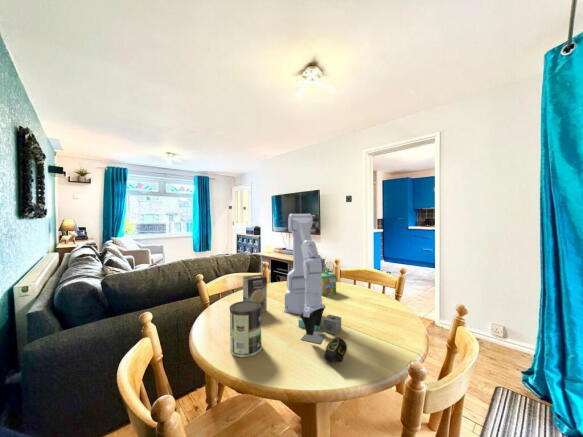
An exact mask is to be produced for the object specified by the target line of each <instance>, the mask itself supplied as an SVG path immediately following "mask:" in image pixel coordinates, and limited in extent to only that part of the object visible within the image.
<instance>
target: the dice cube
mask: <svg viewBox="0 0 583 437" xmlns="http://www.w3.org/2000/svg"><path fill="white" fill-rule="evenodd" d="M322 327H323V330H322V331H323V332H325V333H328V334H331V335H335V336H336V335H338V333H339V332H340V331H342V316H341V317H340V316H336V315H333V314H328V315H327V316H325V317H324V318H323V319H322Z"/></svg>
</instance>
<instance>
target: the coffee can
mask: <svg viewBox="0 0 583 437" xmlns="http://www.w3.org/2000/svg"><path fill="white" fill-rule="evenodd" d="M228 308H229V324H230V325H229V329H230V330H229V331H230V332H229V336H230V338H229V339H230V342H229V344H230V345H229V346H230V347H229V348H230V349H229V351H230V353H231V355H232V356H234V357H237V358H249V357H252V356H255V355H257V354H258V353H260V352H261V351H262V345H263V344H262V312H261V303H259V302H256V301H243V300H241V301H236V302H234V303H232V304H230V305H229V307H228Z"/></svg>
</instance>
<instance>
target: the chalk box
mask: <svg viewBox="0 0 583 437" xmlns="http://www.w3.org/2000/svg"><path fill="white" fill-rule="evenodd" d="M336 294H337V274H334V273H332V272H330V268H328V267H325V266H324V272H323V273H321V295H322V297H327V296H332V295H336Z"/></svg>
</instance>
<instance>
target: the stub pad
mask: <svg viewBox="0 0 583 437" xmlns="http://www.w3.org/2000/svg"><path fill="white" fill-rule="evenodd" d="M326 336H327V334H326V333H322V332H321V333H320V332H318V331H317V332H316V331H314V333H313V335H307V333H306V332H305V334H304V335H303V336H302V337H301V338H300V340H301V341H304V342H308V343H312V344H317V345H321V343H322V342H323V340H324V339H325V338H326Z"/></svg>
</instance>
